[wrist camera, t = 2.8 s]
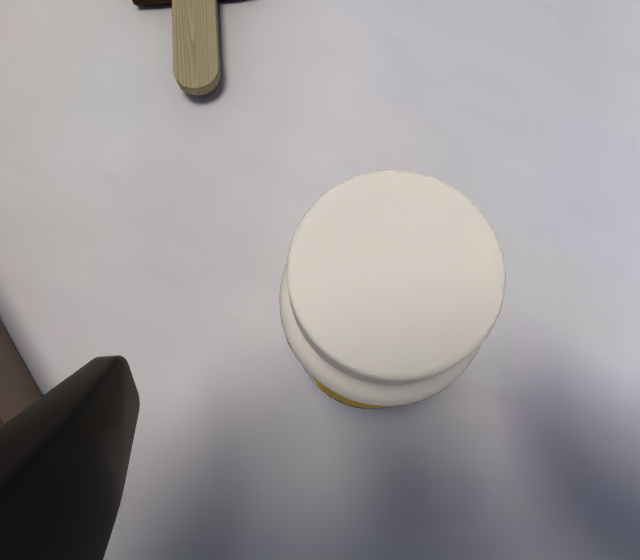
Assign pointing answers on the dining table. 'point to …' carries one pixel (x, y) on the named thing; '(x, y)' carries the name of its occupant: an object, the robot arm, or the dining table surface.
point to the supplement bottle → (390, 288)
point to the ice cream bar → (194, 43)
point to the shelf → (14, 381)
